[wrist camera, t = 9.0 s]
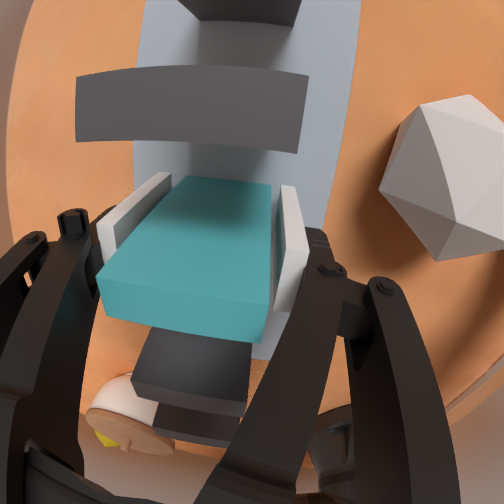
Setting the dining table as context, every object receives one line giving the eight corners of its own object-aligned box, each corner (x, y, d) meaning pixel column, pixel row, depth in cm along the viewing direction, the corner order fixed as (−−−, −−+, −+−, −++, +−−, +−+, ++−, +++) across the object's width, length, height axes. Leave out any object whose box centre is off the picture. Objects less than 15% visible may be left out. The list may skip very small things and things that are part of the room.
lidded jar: (192, 411, 32) (179, 472, 24) (122, 397, 33) (103, 450, 25) (177, 369, 27) (155, 447, 19) (94, 352, 27) (63, 416, 19)
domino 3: (247, 335, 22) (235, 449, 14) (188, 326, 22) (156, 434, 14) (249, 322, 21) (237, 442, 13) (187, 312, 21) (151, 426, 13)
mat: (282, 358, 24) (282, 361, 24) (155, 339, 24) (154, 342, 24) (360, -21, 9) (362, -23, 8) (157, -34, 9) (154, -36, 8)
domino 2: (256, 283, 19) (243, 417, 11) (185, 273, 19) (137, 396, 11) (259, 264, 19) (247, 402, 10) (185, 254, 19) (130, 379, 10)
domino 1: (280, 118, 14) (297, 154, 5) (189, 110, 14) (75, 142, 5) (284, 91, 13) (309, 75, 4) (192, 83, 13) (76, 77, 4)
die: (469, 205, 16) (563, 170, 6) (416, 291, 15) (542, 294, 6) (401, 121, 16) (478, 43, 7) (331, 192, 15) (426, 101, 6)
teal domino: (267, 210, 16) (260, 343, 8) (185, 200, 16) (106, 315, 8) (271, 184, 16) (269, 304, 7) (186, 175, 16) (95, 276, 7)
